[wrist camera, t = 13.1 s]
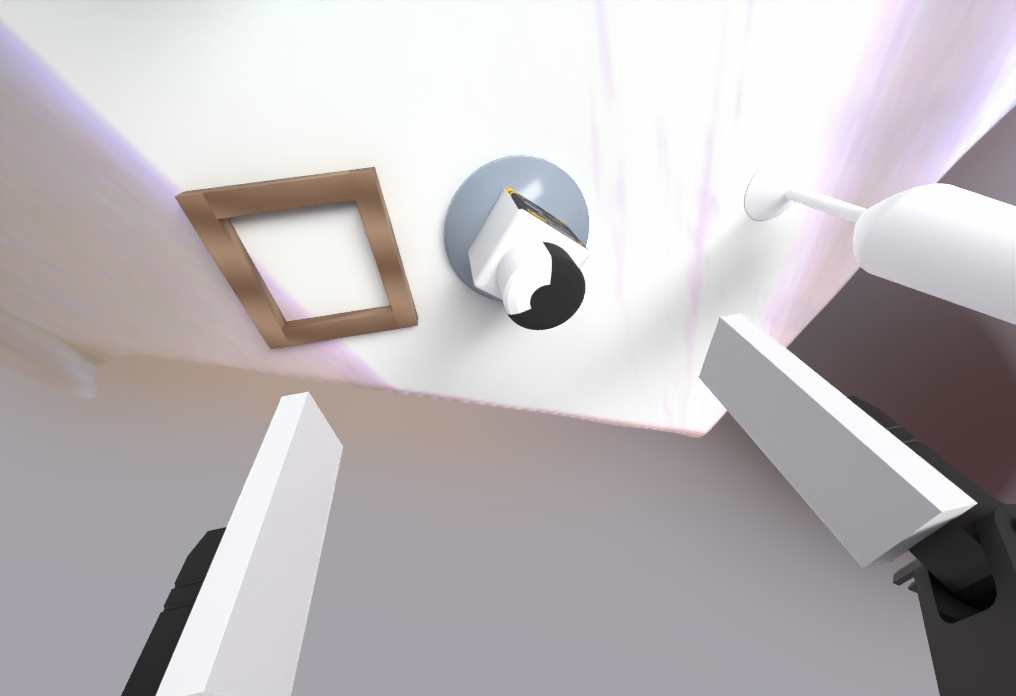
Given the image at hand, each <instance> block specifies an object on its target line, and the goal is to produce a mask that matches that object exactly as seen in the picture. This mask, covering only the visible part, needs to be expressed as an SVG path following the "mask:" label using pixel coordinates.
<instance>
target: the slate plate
mask: <svg viewBox="0 0 1016 696" xmlns="http://www.w3.org/2000/svg"><path fill="white" fill-rule="evenodd" d="M505 187H509V188H511V189H513V190H514V191H516V192H517V193H519V194H520V195H522V196H523V197H525V198H527V199H528V200H530V201H531V202H533V203H534V204H536V205H537V206H539V207H540V208H542V209H544V210H545V211H547V212H548V213H550V214H551V215H553V216H554V217H556V218H558V219H559V220H561V221H562V222H564V223H565V224H566V225H567V226H568V227H569V228H570V229H571V231H572V232H573V233H574V234H575V235H576V237H577V238H578V239H579V240H580V241H581V242H582V244H583V245H584V246H585V247H586V243H587V239H588V232H589V216H588V209H587V206H586V202H585V199H584V197H583V195H582V193H581V191H580V189H579V188H578V186H577V184H576V183H575V182H574V181H573V180H572V178H571V177H570V176H569V175H568V174H566V173H565V172H564V171H563V170H562V169H560V168H559V167H557V166H556V165H554V164H553V163H551V162H548V161H546V160H544V159H541V158H537V157H533V156H523V155H521V156H509V157H504V158H500V159H497V160H495V161H492V162H490V163H488V164H486V165H484V166H482V167H481V168H479V169H478V170H476V171H475V172H474V173H472V174H471V175H470V176H469V177H468V178H467V179H466V180H465V181H464V182H463V184H462V185H461V186H460V187H459V189H458V190H457V192H456V194H455V195H454V197H453V199H452V201H451V204H450V206H449V209H448V213H447V216H446V223H445V242H446V249H447V253H448V257H449V259H450V262H451V264H452V266H453V268H454V270H455V271H456V273H457V274H458V276H459V277H460V278H461V279H462V281H463V282H464V283H465V284H466V285H468V286H469V287H470V288H471V289H473V290H474V291H476V292H477V293H479V294H481V295H483V296H485V297H488V298H491V299H495V300H499V301H503V300H501V299H499V298H497V297H495V296H493V295H491V294H489V293H487V292H484V291H482V290H480V289H478V288H476V287H475V286H474V282H473V277H472V272H471V266H470V261H469V256H468V251H469V249H470V247H471V245H472V244H473V242H474V240H475V238H476V237H477V235H478V233H479V231H480V230H481V228H482V226H483V224H484V223H485V221H486V219H487V218H488V216H489V214H490V212H491V211H492V209H493V207H494V205H495V204H496V202H497V200H498V198H499V197H500V195H501V193H502V191H503V190H504V188H505Z"/></svg>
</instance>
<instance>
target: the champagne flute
mask: <svg viewBox="0 0 1016 696" xmlns="http://www.w3.org/2000/svg"><path fill="white" fill-rule="evenodd" d="M809 175H810V163H809V160H808V158H807V156H806V155H804V154H803V153H801V152H799V151H786V152H783V153H781V154H778V155H777V156H775V157H773V158H772V159H770V160H769V161H768V162H766V163H765V164H764V165H763V166H762V167H761V168H760V169H759V170H758V172H757V173H756V174H755V175H754V177H753V179H752V180H751V182H750V184H749V186H748V188H747V191H746V195H745V209H746V212H747V213H748V215H749V216H750V217H752V218H753V219H756V220H769V219H771V218H774V217H776V216H778V215H780V214H782V213H783V212H785V211H786V210H787V209H788V208H789V207H791V206H792V205H793V204H794V203H795V201H796V202H798V203H801V204H804V205H807V206H809V207H812V208H815V209H818V210H820V211H823V212H826V213H829V214H831V215H834V216H837V217H840V218H842V219H845V220H848V221H851V222H853V223H856V224H855V228H854V236H853V250H854V255H855V257H856V259H857V261H858V263H859V265H860V267H862V268H863V269H864V270H865V271H867V272H868V273H871V274H873V275H876V276H879V277H882V278H884V279H888V280H890V281H893V282H896V283H899V284H902V285H905V286H907V287H910V288H913V289H916V290H919V291H922V292H924V293H927V294H930V295H933V296H936V297H939V298H941V299H944V300H947V301H950V302H953V303H956V304H959V305H962V306H965V307H967V308H970V309H973V310H976V311H979V312H981V313H984V314H987V315H990V316H993V317H996V318H999V319H1001V320H1004V321H1007V322H1010V323H1013V324H1015V325H1016V207H1015V206H1012V205H1009V204H1006V203H1003V202H1000V201H997V200H994V199H991V198H989V197H985V196H982V195H980V194H977V193H973V192H971V191H968V190H964V189H961V188H958V187H956V186H952V185H949V184H929V185H924V186H919V187H914V188H911V189H908V190H905V191H902V192H899V193H896V194H894V195H892V196H890V197H888V198H886V199H885V200H883V201H881V202H879V203H877V204H875V205H873V206H871V207H870V208H868V209H865V208H862V207H859V206H855V205H852V204H849V203H846V202H843V201H840V200H837V199H834V198H831V197H828V196H824V195H821V194H818V193H815V192H812V191H809V190H806V189H804V188H805V187H806V184H807V182H808V179H809Z"/></svg>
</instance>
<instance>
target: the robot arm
mask: <svg viewBox="0 0 1016 696" xmlns="http://www.w3.org/2000/svg"><path fill="white" fill-rule="evenodd" d="M699 378H700V379H701V380H702V381H703V382H704V384H705V385H706V386H707V387H708V388H709V389H710V391H711V392H712V393H713V394H714V395H715V396H716V398H717V399H718V400H719V401H720V402H721V403H722V405H723V406H724V407H725V408H726V409H727V410H728V412H729V413H730V414H731V415H732V416H733V417H734V419H735V420H736V421H737V422H738V423H739V424H740V426H741V427H742V428H743V429H744V430H745V431H746V433H748V435H749V436H750V437H751V438H752V440H753V441H754V442H755V443H756V444H757V445H758V447H759V448H760V449H761V450H762V451H763V452H764V454H765V455H766V456H767V457H768V458H769V459H770V461H771V462H772V463H773V464H774V465H775V466H776V467H777V469H778V470H779V471H780V472H781V473H782V475H783V476H784V477H785V478H786V479H787V480H788V482H789V483H790V484H791V485H792V486H793V487H794V489H795V490H796V491H797V492H798V493H799V494H800V496H801V497H802V498H803V499H804V500H805V501H806V503H807V504H808V505H809V506H810V507H811V508H812V510H813V511H814V512H815V513H816V514H817V515H818V517H819V518H820V519H821V520H822V521H823V522H824V524H825V525H826V526H827V527H828V528H829V529H830V531H831V532H832V533H833V534H834V535H835V536H836V538H837V539H838V540H839V541H840V542H841V543H842V545H843V546H844V547H845V548H846V549H847V550H848V552H849V553H850V554H851V555H852V556H853V557H854V558H855V560H856V561H857V562H858V563H859V564H860V566H861V567H862V568H867V567H871V566H875V565H879V564H882V563H886V562H890V561H893V560H894V559H896V558H897V557H899V556H900V555H902V554H903V553H905V552H906V551H908V550H909V551H910V552H911V553H912V554H913V555H914V556H915V557H916V558H917V559H915V560H914V561H912V562H910V563H909V564H907V565H906V566H904V567H903V568H901V569H900V570H898V571H897V572H896V573H895V574H894V578H893V583H895V584H897V585H901V584H903V583H904V582H906V581H908V580H909V579H911V578H913V577H914V579H915V581H914V582H913V583H911V584H910V586H909V587H908V589H909V590H911V591H914V592H916V593H918V597H919V601H920V606H921V611H922V615H923V620H924V625H925V629H926V634H927V638H928V642H929V647H930V652H931V656H932V661H933V665H934V670H935V675H936V680H937V684H938V689H939V693H940V696H1016V504H1007V505H1006V504H1004V503H1002V502H1000V501H999V500H997V499H996V498H995V497H993V496H992V495H990V494H988V493H987V492H986V491H985V490H983V489H982V488H981V487H980V486H978V485H977V484H975V483H974V482H973V481H972V480H970V479H969V478H968V477H967V476H965V475H964V474H963V473H961V472H960V471H959V470H957V469H956V468H955V467H954V466H952V465H951V464H950V463H948V462H947V461H946V460H945V459H943V458H942V457H941V456H939V455H938V454H937V453H936V452H934V451H933V450H932V449H930V448H929V447H928V446H927V445H925V444H924V443H923V442H919V441H917V439H916V437H915V436H914V435H912V434H911V433H910V432H908V431H907V430H906V429H905V428H900V427H899V424H898V423H897V422H896V421H894V420H893V419H892V418H890V417H889V416H888V415H886V414H885V413H884V412H883V411H881V410H880V409H879V408H877V407H875V406H873V405H871V404H869V403H867V402H865V401H863V400H861V399H859V398H857V397H855V396H848V397H845V396H844V395H843V394H842V393H840V392H839V391H838V390H837V389H836V388H834V387H833V386H832V385H831V384H829V383H828V382H827V381H826V380H824V379H823V378H822V377H820V376H819V375H818V374H817V373H816V372H814V371H813V370H812V369H811V368H809V367H808V366H807V365H806V364H805V363H803V362H802V361H801V360H800V359H798V358H797V357H796V356H795V355H793V354H792V353H791V352H790V351H788V350H787V349H786V348H785V347H783V346H782V345H781V344H780V343H778V342H777V341H776V340H775V339H774V338H772V337H771V336H770V335H769V334H767V333H766V332H765V331H764V330H762V329H761V328H760V327H759V326H757V325H756V324H755V323H754V322H752V321H751V320H750V319H749V318H747V317H746V316H745V315H744V314H743V313H737V314H732V315H726V316H721V317H720V318H719V321H718V323H717V326H716V329H715V332H714V335H713V338H712V341H711V344H710V347H709V349H708V352H707V355H706V358H705V361H704V364H703V367H702V370H701V373H700V375H699ZM342 450H343V446H342V444H341V443H340V441H339V440H338V438H337V436H336V435H335V433H334V432H333V430H332V428H331V427H330V425H329V424H328V422H327V420H326V419H325V417H324V416H323V414H322V413H321V411H320V409H319V408H318V406H317V405H316V403H315V401H314V400H313V398H312V397H311V395H310V393H309V392H305V393H300V394H294V395H289V396H283V397H282V398H281V400H280V403H279V405H278V408H277V410H276V412H275V414H274V417H273V419H272V421H271V424H270V426H269V429H268V431H267V433H266V436H265V438H264V440H263V443H262V445H261V448H260V450H259V452H258V455H257V457H256V459H255V462H254V464H253V467H252V469H251V471H250V474H249V476H248V478H247V481H246V483H245V485H244V488H243V490H242V492H241V495H240V497H239V500H238V502H237V504H236V507H235V509H234V512H233V514H232V516H231V519H230V521H229V523H228V526H227V527H225V528H220V529H216V530H212V531H208V532H207V533H206V534H205V535H204V537H203V538H202V539H201V540H200V541H199V543H198V544H197V545H196V546H195V548H194V549H193V550H192V551H191V553H190V554H189V555H188V557H187V558H186V561H185V563H184V565H183V567H182V569H181V571H180V573H179V575H178V577H177V579H176V582H175V588H174V589H172V590H171V592H170V594H169V597H168V599H167V600H166V603H165V605H164V611H163V612H161V613H160V615H159V617H158V620H157V622H156V624H155V626H154V628H153V630H152V632H151V634H150V636H149V638H148V640H147V642H146V645H145V647H144V649H143V651H142V653H141V655H140V657H139V659H138V661H137V664H136V666H135V668H134V670H133V672H132V674H131V676H130V678H129V680H128V682H127V684H126V686H125V689H124V691H123V693H122V695H121V696H291V692H292V688H293V683H294V678H295V673H296V669H297V664H298V659H299V654H300V649H301V645H302V639H303V635H304V630H305V626H306V621H307V616H308V611H309V607H310V602H311V597H312V592H313V588H314V583H315V578H316V574H317V569H318V564H319V559H320V555H321V550H322V545H323V540H324V536H325V530H326V526H327V521H328V516H329V512H330V507H331V502H332V497H333V492H334V488H335V483H336V479H337V474H338V469H339V464H340V460H341V455H342Z"/></svg>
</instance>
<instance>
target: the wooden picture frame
mask: <svg viewBox="0 0 1016 696" xmlns="http://www.w3.org/2000/svg"><path fill="white" fill-rule="evenodd" d="M175 198H176V200H177V201H178V203H179V204H180V206H181V208H182V209H183V211H184V212H185V214H186V216H187V217H188V219H189V220H190V222H191V224H192V225H193V227H194V228H195V230H196V231H197V233H198V235H199V236H200V238H201V239H202V241H203V243H204V244H205V246H206V247H207V249H208V251H209V252H210V254H211V255H212V257H213V258H214V260H215V262H216V263H217V265H218V266H219V268H220V270H221V271H222V273H223V274H224V276H225V278H226V279H227V281H228V282H229V284H230V285H231V287H232V289H233V290H234V292H235V293H236V295H237V297H238V298H239V300H240V301H241V303H242V305H243V306H244V308H245V309H246V311H247V312H248V314H249V316H250V317H251V319H252V320H253V322H254V324H255V325H256V327H257V328H258V330H259V332H260V333H261V335H262V336H263V338H264V339H265V341H266V343H267V344H268V346H269V347H270V349H275V348H281V347H287V346H293V345H300V344H306V343H312V342H318V341H324V340H330V339H337V338H343V337H349V336H355V335H361V334H368V333H374V332H380V331H386V330H392V329H398V328H405V327H411V326H417V325H418V316H417V312H416V309H415V305H414V302H413V298H412V295H411V291H410V288H409V284H408V281H407V278H406V274H405V271H404V267H403V264H402V260H401V257H400V253H399V250H398V246H397V243H396V239H395V236H394V232H393V229H392V225H391V222H390V218H389V215H388V212H387V208H386V205H385V201H384V198H383V194H382V191H381V187H380V184H379V180H378V177H377V173H376V170H375V167H371V168H364V169H356V170H348V171H340V172H333V173H325V174H317V175H309V176H302V177H294V178H286V179H278V180H270V181H263V182H255V183H247V184H239V185H232V186H224V187H216V188H208V189H201V190H193V191H185V192H183V193H181V194H179V195H177V196H175ZM355 200H356V203H357V206H358V209H359V212H360V215H361V218H362V221H363V224H364V227H365V230H366V233H367V236H368V239H369V242H370V245H371V248H372V251H373V254H374V257H375V260H376V263H377V266H378V269H379V272H380V275H381V278H382V281H383V284H384V287H385V290H386V293H387V296H388V299H389V302H390V305H391V306H384V307H378V308H372V309H365V310H359V311H352V312H346V313H340V314H333V315H327V316H321V317H314V318H308V319H301V320H295V321H289V322H286V320H285V319H284V317H283V315H282V313H281V311H280V310H279V308H278V306H277V304H276V303H275V301H274V299H273V297H272V295H271V294H270V292H269V290H268V288H267V287H266V285H265V283H264V281H263V279H262V278H261V276H260V274H259V272H258V271H257V269H256V267H255V265H254V263H253V262H252V260H251V258H250V256H249V255H248V253H247V251H246V249H245V247H244V246H243V244H242V242H241V240H240V239H239V237H238V235H237V233H236V231H235V230H234V228H233V226H232V224H231V222H230V221H229V219H228V218H229V217H236V216H244V215H251V214H258V213H266V212H273V211H281V210H288V209H295V208H303V207H310V206H318V205H325V204H333V203H340V202H347V201H355Z"/></svg>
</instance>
